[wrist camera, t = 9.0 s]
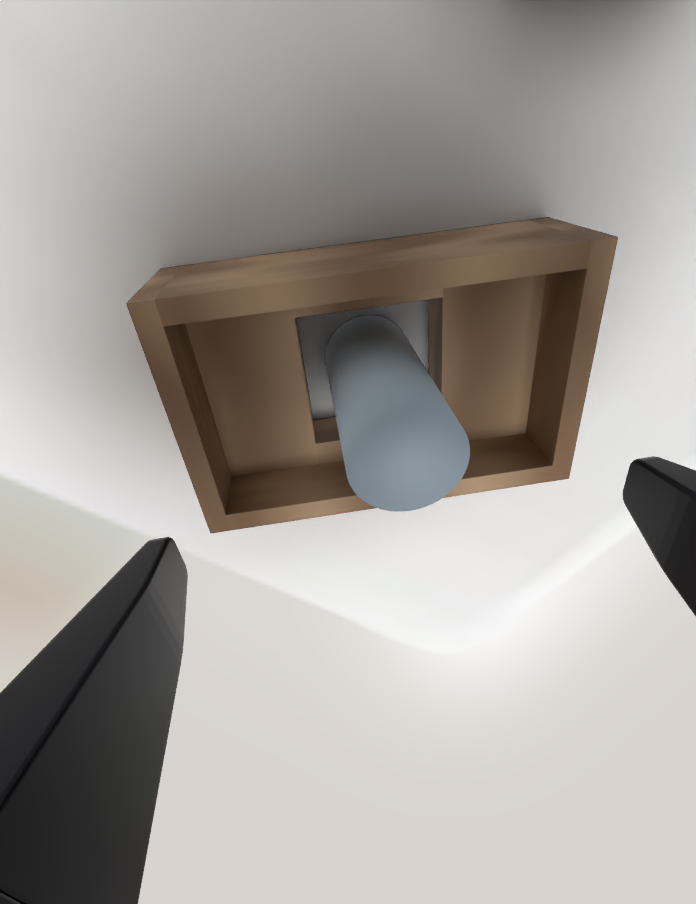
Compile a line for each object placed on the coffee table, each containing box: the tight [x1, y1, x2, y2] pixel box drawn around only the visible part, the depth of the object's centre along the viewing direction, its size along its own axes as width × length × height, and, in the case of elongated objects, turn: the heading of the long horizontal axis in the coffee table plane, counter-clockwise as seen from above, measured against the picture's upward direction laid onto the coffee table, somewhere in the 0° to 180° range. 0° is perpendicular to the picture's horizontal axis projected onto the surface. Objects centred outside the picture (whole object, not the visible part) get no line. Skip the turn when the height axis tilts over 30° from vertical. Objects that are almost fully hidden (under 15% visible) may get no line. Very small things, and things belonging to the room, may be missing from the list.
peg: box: [325, 315, 470, 511], centre depth 17 cm, size 4×4×8 cm
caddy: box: [126, 217, 618, 533], centre depth 18 cm, size 15×9×4 cm, turn 96°
